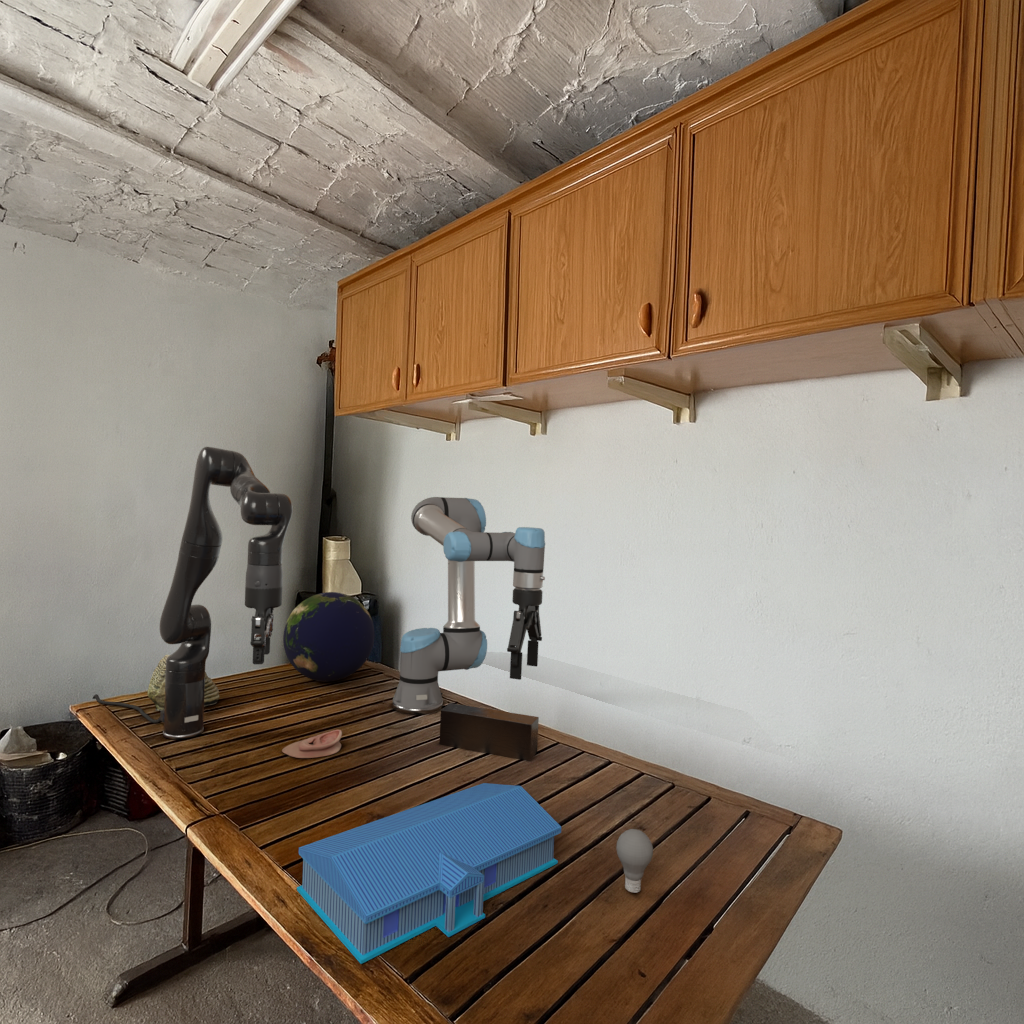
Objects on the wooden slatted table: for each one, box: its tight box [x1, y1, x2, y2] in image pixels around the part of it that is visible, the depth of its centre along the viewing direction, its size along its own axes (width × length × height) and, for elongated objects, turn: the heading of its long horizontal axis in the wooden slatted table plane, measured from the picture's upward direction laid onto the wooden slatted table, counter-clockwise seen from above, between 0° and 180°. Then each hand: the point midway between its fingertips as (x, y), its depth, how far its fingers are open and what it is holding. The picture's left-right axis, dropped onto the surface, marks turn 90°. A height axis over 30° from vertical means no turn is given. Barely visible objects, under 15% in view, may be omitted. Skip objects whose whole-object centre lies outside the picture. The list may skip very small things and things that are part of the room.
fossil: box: [147, 654, 221, 712], centre depth 185 cm, size 9×18×15 cm, turn 132°
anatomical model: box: [281, 729, 343, 759], centre depth 157 cm, size 13×4×12 cm
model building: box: [296, 782, 562, 965], centre depth 106 cm, size 39×24×10 cm, turn 132°
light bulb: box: [615, 828, 654, 894], centre depth 106 cm, size 6×6×10 cm
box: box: [438, 702, 540, 762], centre depth 164 cm, size 25×6×9 cm, turn 71°
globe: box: [282, 591, 375, 683], centre depth 216 cm, size 30×30×30 cm
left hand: (261, 658), depth 138 cm, fingers open, 8 cm apart
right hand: (524, 672), depth 160 cm, fingers open, 13 cm apart
